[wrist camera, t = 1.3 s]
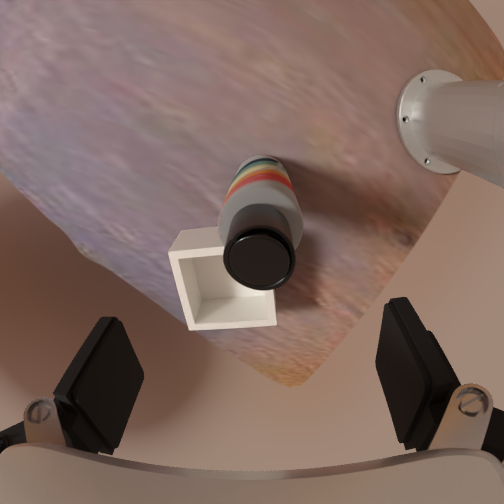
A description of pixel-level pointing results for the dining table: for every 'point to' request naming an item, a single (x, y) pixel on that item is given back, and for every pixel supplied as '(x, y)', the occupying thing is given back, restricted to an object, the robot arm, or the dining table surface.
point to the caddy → (215, 286)
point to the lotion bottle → (260, 225)
